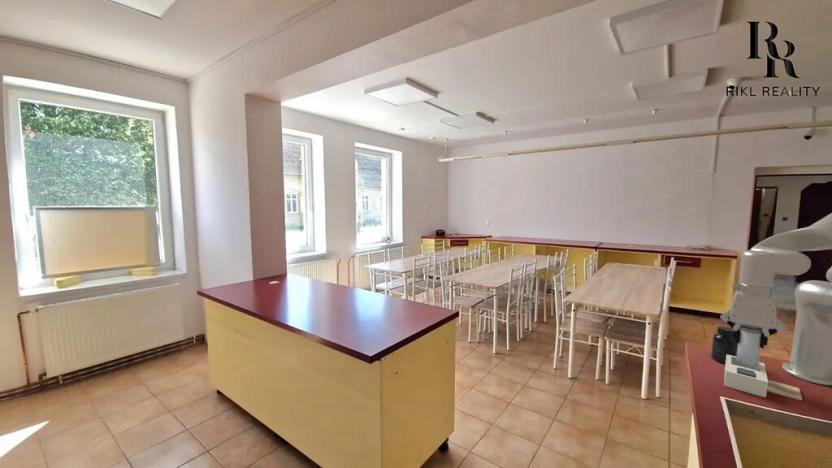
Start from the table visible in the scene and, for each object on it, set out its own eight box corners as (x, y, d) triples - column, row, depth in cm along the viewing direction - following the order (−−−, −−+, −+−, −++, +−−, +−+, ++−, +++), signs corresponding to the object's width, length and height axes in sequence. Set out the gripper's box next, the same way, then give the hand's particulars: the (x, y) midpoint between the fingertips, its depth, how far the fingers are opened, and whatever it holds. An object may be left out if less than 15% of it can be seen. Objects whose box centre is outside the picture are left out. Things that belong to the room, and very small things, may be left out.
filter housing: (724, 367, 113) (726, 354, 112) (762, 377, 107) (764, 363, 106) (724, 385, 103) (726, 370, 102) (765, 397, 97) (767, 382, 96)
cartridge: (736, 356, 110) (739, 322, 108) (758, 361, 106) (761, 326, 105) (736, 362, 106) (739, 327, 105) (759, 368, 103) (763, 332, 101)
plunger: (737, 377, 104) (738, 367, 104) (752, 381, 102) (753, 371, 101) (737, 382, 102) (738, 371, 101) (753, 386, 99) (754, 375, 99)
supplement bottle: (741, 366, 114) (745, 333, 113) (718, 364, 115) (722, 332, 114) (727, 356, 121) (731, 325, 119) (706, 354, 122) (709, 324, 121)
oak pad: (765, 381, 105) (765, 379, 105) (798, 389, 100) (798, 388, 100) (767, 390, 100) (767, 389, 100) (802, 400, 95) (802, 398, 95)
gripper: (717, 287, 106) (713, 340, 109) (797, 298, 95) (790, 357, 97) (718, 282, 112) (714, 333, 114) (794, 291, 100) (787, 347, 102)
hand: (749, 343), depth 106 cm, fingers closed on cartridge, 5 cm apart
